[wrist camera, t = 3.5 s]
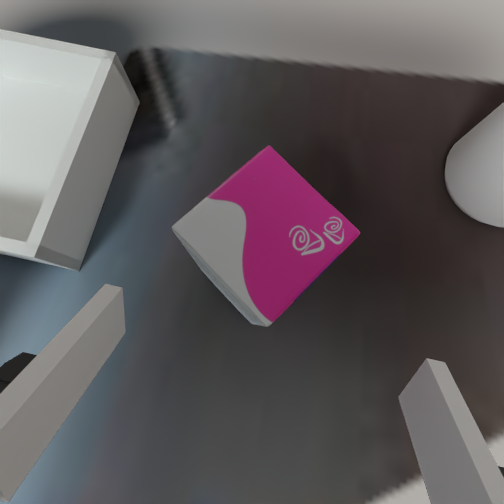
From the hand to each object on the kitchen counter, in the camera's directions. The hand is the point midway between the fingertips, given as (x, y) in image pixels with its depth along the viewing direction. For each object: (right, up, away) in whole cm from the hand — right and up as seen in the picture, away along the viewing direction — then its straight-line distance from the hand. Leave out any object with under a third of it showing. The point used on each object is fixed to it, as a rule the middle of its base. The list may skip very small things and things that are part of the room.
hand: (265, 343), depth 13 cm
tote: (-21, +12, +12) cm, 27 cm away
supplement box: (0, +2, +10) cm, 11 cm away
